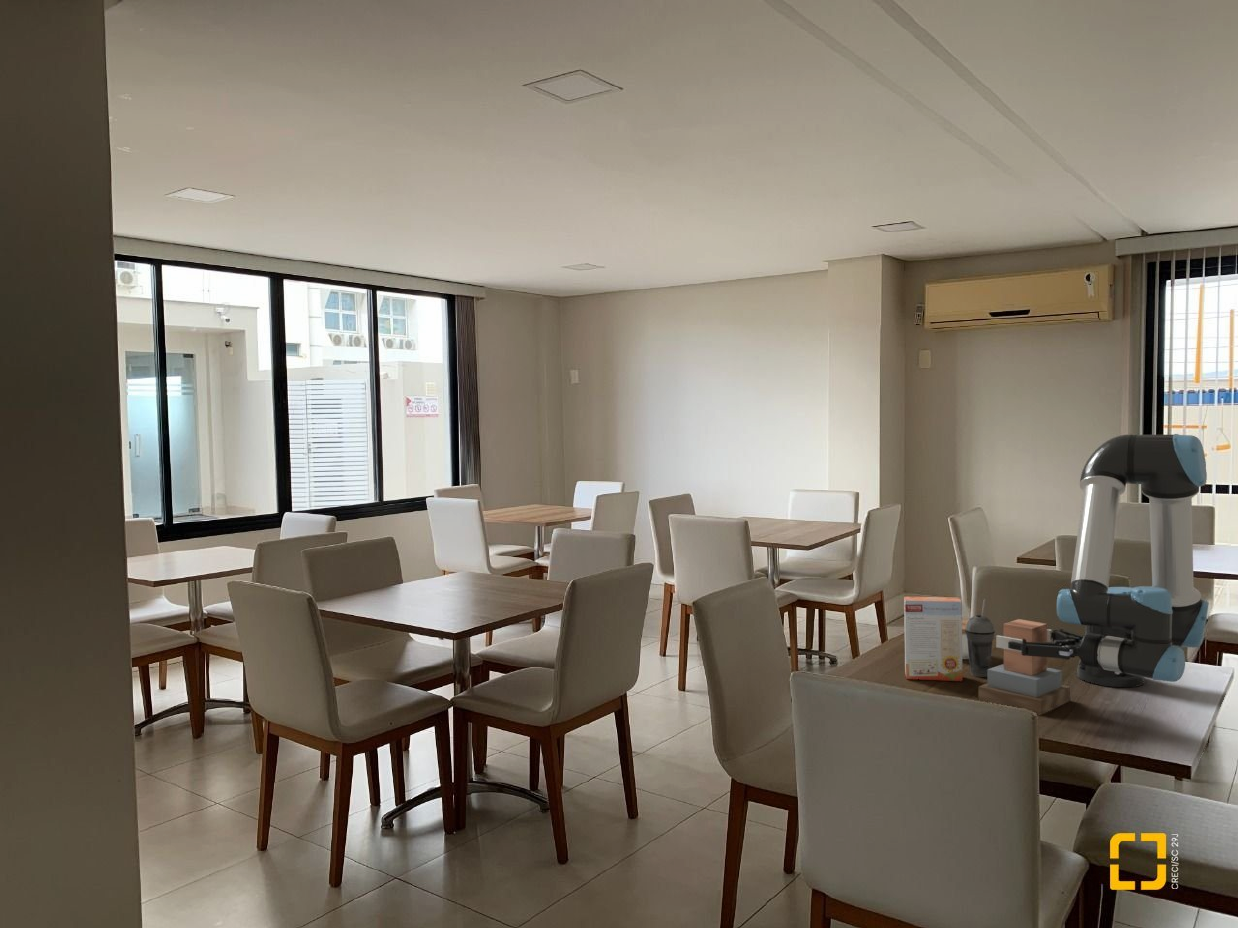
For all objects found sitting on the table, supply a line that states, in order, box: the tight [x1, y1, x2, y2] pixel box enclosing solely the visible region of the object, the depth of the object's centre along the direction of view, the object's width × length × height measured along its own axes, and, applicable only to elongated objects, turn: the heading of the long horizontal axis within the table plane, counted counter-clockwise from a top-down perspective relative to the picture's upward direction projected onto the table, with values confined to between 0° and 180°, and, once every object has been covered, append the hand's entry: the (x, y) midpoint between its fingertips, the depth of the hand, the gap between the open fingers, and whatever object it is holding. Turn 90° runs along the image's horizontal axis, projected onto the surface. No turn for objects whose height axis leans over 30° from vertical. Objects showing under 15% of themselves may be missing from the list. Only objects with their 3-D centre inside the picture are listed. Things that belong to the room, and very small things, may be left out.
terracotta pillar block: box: [1002, 618, 1048, 675], centre depth 220 cm, size 7×7×11 cm
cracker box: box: [903, 596, 964, 682], centre depth 240 cm, size 14×6×21 cm, turn 76°
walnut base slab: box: [977, 683, 1071, 716], centre depth 220 cm, size 15×15×4 cm
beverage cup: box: [965, 598, 996, 678], centre depth 242 cm, size 7×7×20 cm
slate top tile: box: [986, 663, 1063, 697], centre depth 220 cm, size 12×12×4 cm
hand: (1010, 636), depth 222 cm, fingers open, 13 cm apart
